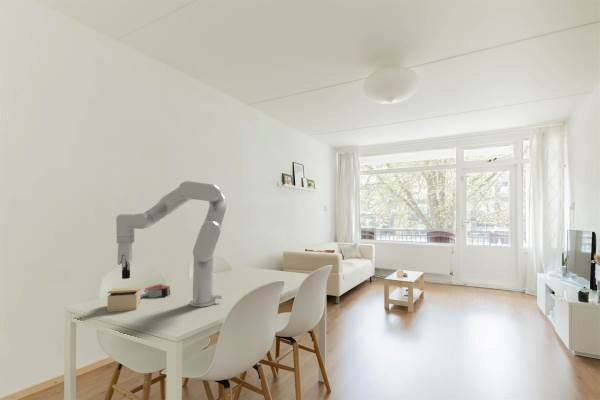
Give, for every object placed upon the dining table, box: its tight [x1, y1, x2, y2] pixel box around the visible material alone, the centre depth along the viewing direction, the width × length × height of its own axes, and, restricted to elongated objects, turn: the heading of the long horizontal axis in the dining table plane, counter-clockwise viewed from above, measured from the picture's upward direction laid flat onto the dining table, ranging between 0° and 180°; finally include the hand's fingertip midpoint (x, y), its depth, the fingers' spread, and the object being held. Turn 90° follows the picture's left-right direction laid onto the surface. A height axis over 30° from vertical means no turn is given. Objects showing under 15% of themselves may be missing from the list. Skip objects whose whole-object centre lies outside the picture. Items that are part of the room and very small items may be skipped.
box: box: [106, 289, 141, 313], centre depth 155 cm, size 12×12×7 cm
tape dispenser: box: [140, 283, 171, 299], centre depth 175 cm, size 18×5×20 cm
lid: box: [107, 286, 141, 294], centre depth 155 cm, size 12×12×1 cm
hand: (126, 278), depth 153 cm, fingers closed
